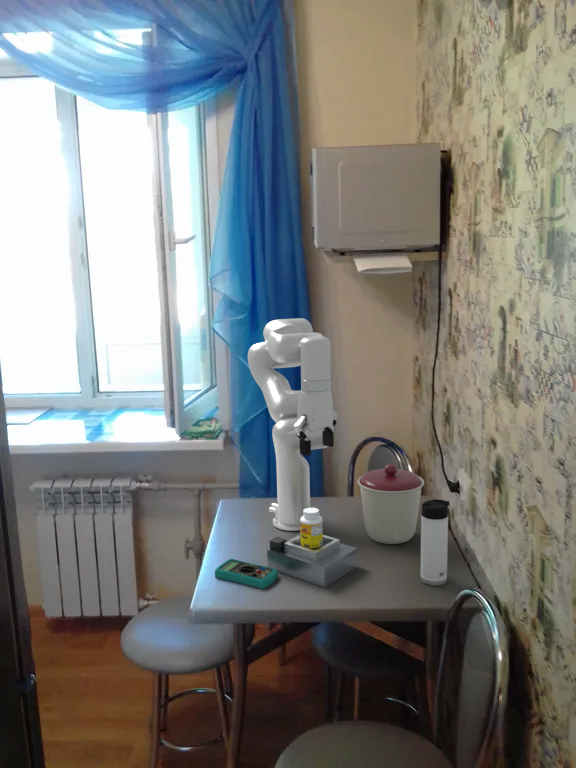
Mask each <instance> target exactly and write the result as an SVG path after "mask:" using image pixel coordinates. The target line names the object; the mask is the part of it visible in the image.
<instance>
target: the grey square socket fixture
mask: <svg viewBox="0 0 576 768" xmlns="http://www.w3.org/2000/svg"><path fill="white" fill-rule="evenodd" d="M340 541H341V540H340V539H339V538H335V537H331V536H328V535H326V534H323V546H322V547H321V548H319V549H317V550H316V551H314V550H311V549H308V548H305V547H301V532H298V533H296V534H294V535H292V536H291V537H288V538H283V537H280V536H276V537H273V538H272V539H270V540H269V548H267V555H266V556H267V567H270V568H274V569H276V570H277V573H278V572H279V573H282V574H285V575H287V576H289V577H290V576H291V577H293V578H295V579H299V580H302V581H305V582H307V583H310V584H314V585H316V586H319V587H322V588H324V589H325V588H327V587H328V586H330V585H331V584H333V583H335V582H336V581H338V580H339V579H340V578H343V577H344V576H346V575H347V574H349V573H350V572H352V571H353V570H355V569H356V568H358V547H354V546H351V545H348V544H344V543H341V542H340Z"/></svg>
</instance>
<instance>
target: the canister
mask: <svg viewBox="0 0 576 768" xmlns="http://www.w3.org/2000/svg"><path fill="white" fill-rule="evenodd" d="M357 484H358V486H359V488H360V496H361V505H362V514H363V515H362V516H363V520H364V521H363V522H364V527H365V528H364V529H365V532H366V534H367V535H368V537H369V539H371V540H373V541H375V542H377V543H380V544H385V545H386V544H387V545H397V544H403V543H406V542H409V541H410V540H411V539H413V538H414V536H415V533H416V529H417V523H418V517H419V510H420V501H421V494H422V488H423V487H424V485H425V481H424V479H423V478H422V477H421V476H419V475H418V474H416V473H414V472H411V471H409V470H405V469H401V468H400V469H399V468H397V466H396V465H395V464H394V463H388V464H386V465H385V466H384V468H379V469H373V470H370V471H367V472H366V473H364V474H362V475H361V476H359V477H358V479H357Z"/></svg>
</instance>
